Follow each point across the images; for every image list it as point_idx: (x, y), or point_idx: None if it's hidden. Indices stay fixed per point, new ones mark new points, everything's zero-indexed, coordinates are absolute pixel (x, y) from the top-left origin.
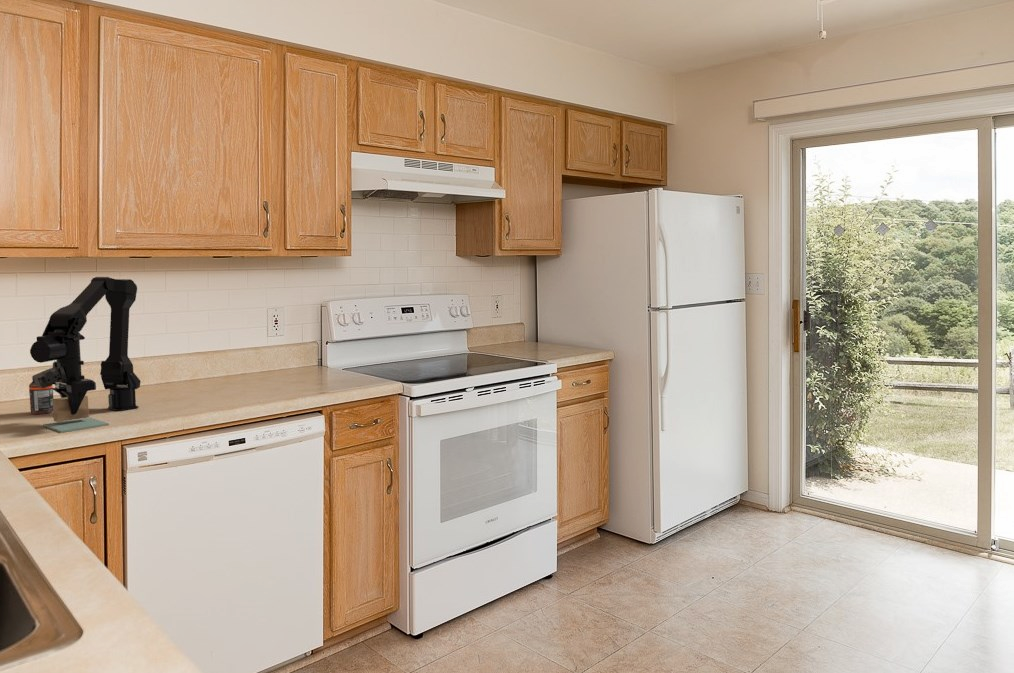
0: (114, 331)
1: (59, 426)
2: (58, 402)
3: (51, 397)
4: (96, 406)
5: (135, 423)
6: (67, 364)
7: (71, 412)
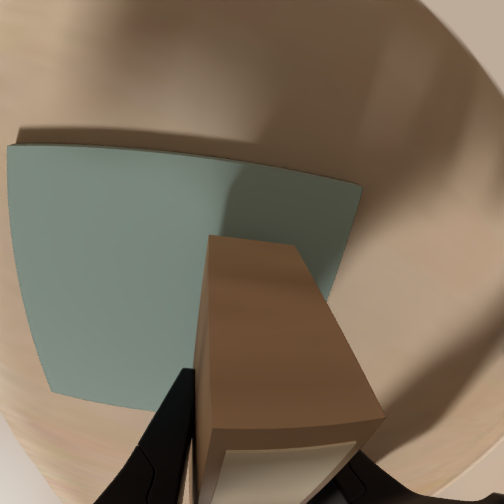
0: None
1: (167, 215)
2: (207, 409)
3: None
4: (426, 444)
5: (31, 423)
6: None
7: (182, 377)
